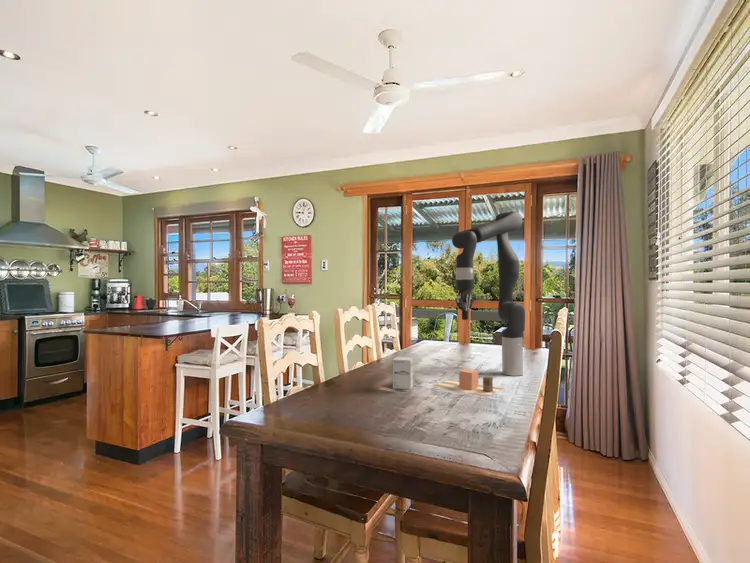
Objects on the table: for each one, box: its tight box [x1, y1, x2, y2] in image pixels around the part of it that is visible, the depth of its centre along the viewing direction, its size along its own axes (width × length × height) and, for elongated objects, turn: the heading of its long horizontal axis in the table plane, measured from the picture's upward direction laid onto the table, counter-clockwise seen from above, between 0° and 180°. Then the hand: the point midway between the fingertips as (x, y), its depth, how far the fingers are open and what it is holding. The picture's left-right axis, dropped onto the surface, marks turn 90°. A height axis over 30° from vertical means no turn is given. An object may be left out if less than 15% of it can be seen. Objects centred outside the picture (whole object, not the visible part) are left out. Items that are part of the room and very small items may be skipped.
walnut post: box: [482, 376, 494, 392], centre depth 157 cm, size 3×3×5 cm
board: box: [431, 379, 504, 398], centre depth 163 cm, size 15×24×1 cm, turn 49°
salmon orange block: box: [458, 368, 479, 390], centre depth 163 cm, size 5×5×7 cm
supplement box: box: [392, 356, 414, 393], centre depth 165 cm, size 7×7×13 cm
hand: (465, 319), depth 175 cm, fingers closed
